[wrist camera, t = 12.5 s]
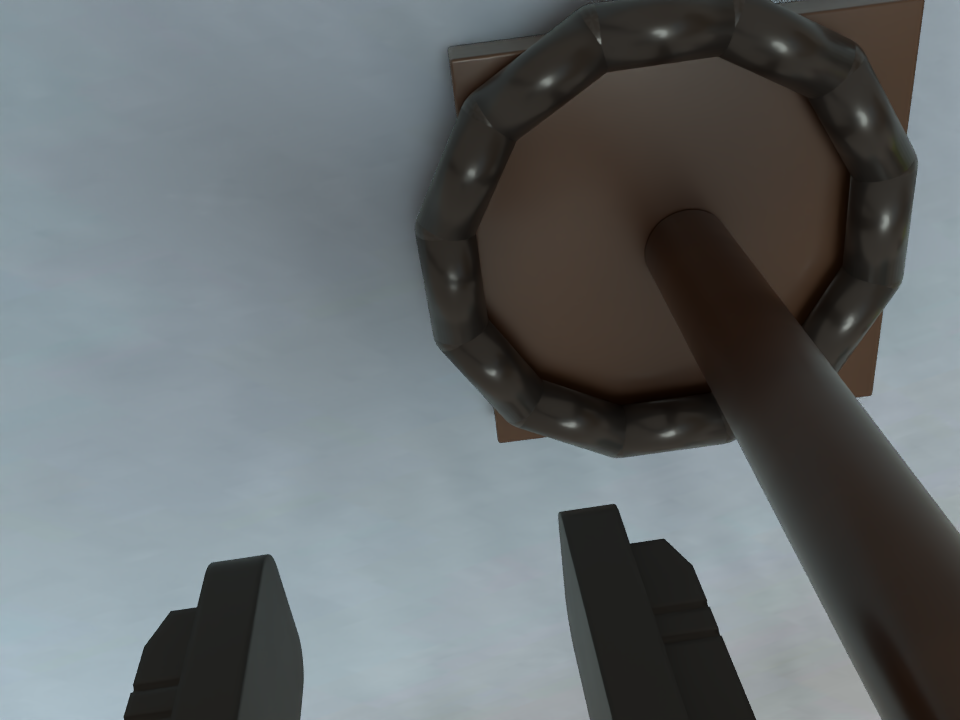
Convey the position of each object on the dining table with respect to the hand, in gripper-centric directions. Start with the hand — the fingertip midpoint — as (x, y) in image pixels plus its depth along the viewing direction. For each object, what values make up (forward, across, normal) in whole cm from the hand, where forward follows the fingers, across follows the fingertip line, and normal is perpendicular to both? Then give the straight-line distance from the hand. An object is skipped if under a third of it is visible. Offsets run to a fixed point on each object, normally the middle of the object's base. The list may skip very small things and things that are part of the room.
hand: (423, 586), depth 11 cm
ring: (+8, -5, 0) cm, 10 cm away
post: (+10, -6, 0) cm, 12 cm away
